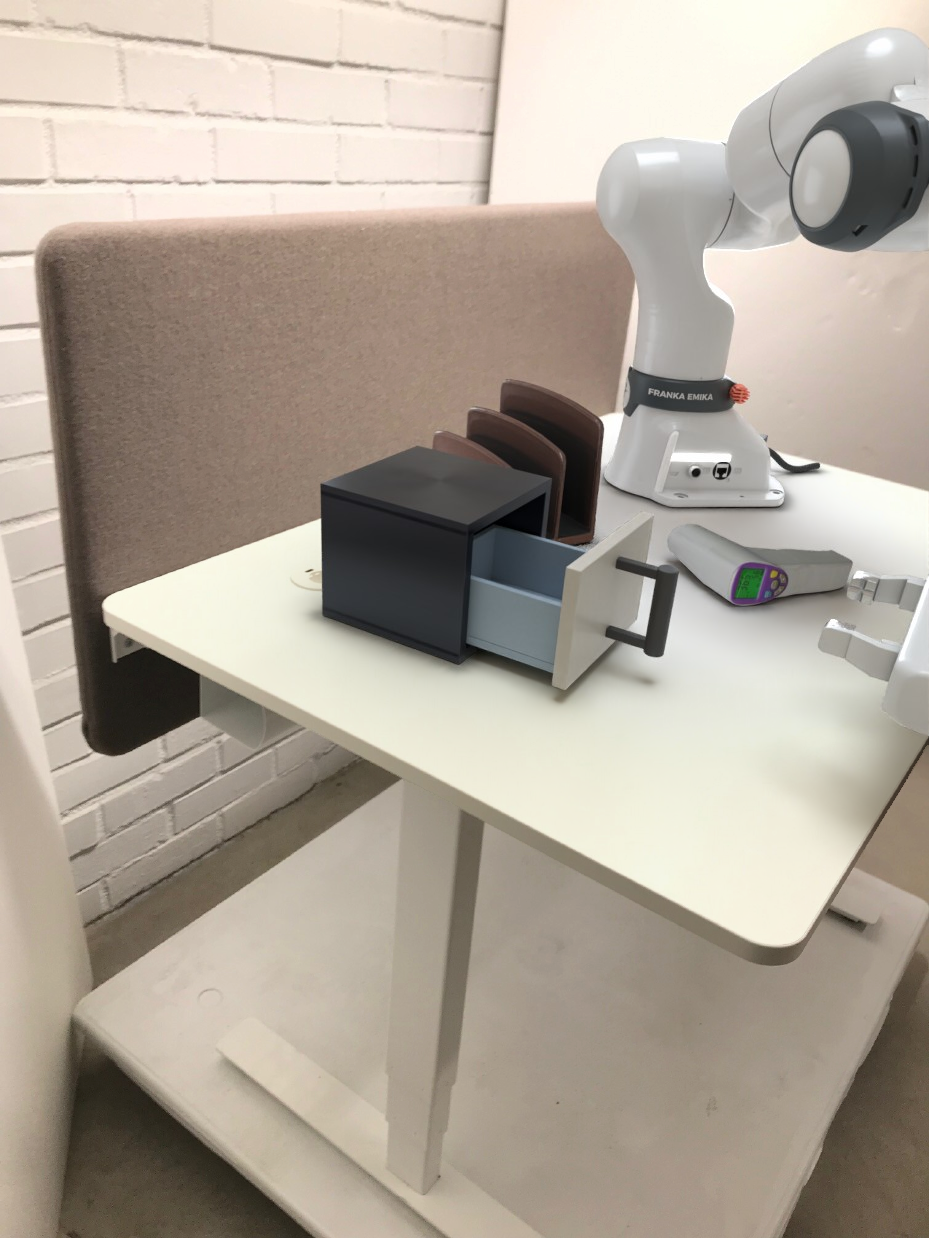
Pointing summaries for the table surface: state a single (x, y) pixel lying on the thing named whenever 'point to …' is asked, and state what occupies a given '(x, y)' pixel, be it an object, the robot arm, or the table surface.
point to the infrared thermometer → (755, 567)
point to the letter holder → (540, 451)
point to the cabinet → (418, 542)
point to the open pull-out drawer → (565, 597)
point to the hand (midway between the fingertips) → (836, 607)
